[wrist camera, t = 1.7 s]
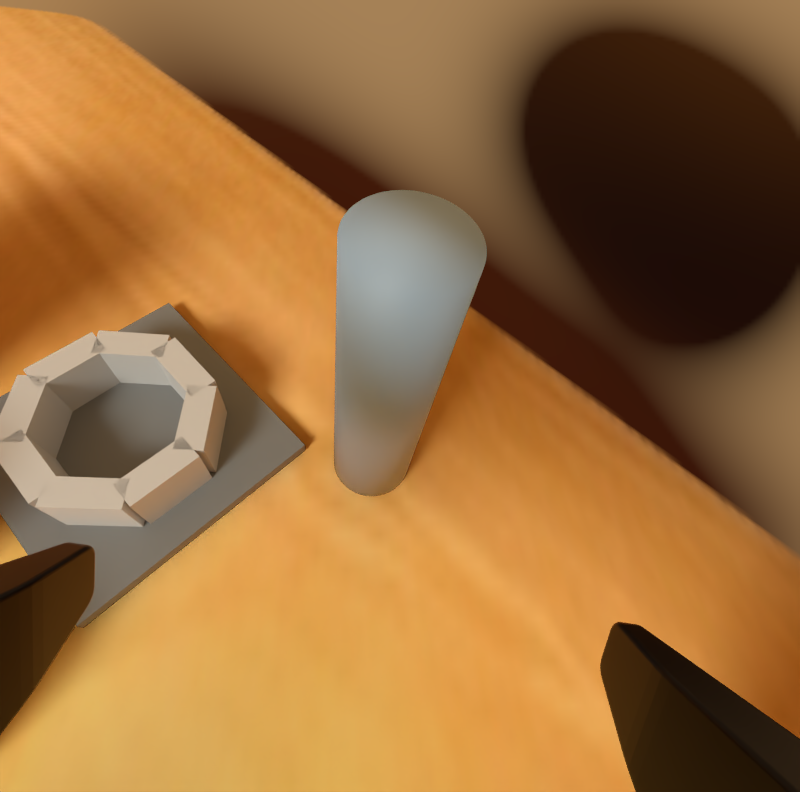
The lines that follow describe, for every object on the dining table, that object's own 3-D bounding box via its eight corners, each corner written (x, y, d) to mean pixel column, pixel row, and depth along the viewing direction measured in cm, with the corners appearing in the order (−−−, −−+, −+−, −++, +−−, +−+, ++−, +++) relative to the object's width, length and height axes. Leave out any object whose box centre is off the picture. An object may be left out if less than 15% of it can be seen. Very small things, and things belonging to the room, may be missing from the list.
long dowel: (370, 511, 23) (415, 326, 11) (318, 457, 24) (305, 231, 12) (423, 461, 24) (516, 250, 12) (372, 412, 25) (411, 171, 13)
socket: (83, 627, 19) (43, 620, 16) (-49, 434, 22) (-101, 401, 19) (305, 450, 24) (302, 421, 21) (172, 310, 27) (154, 269, 24)
